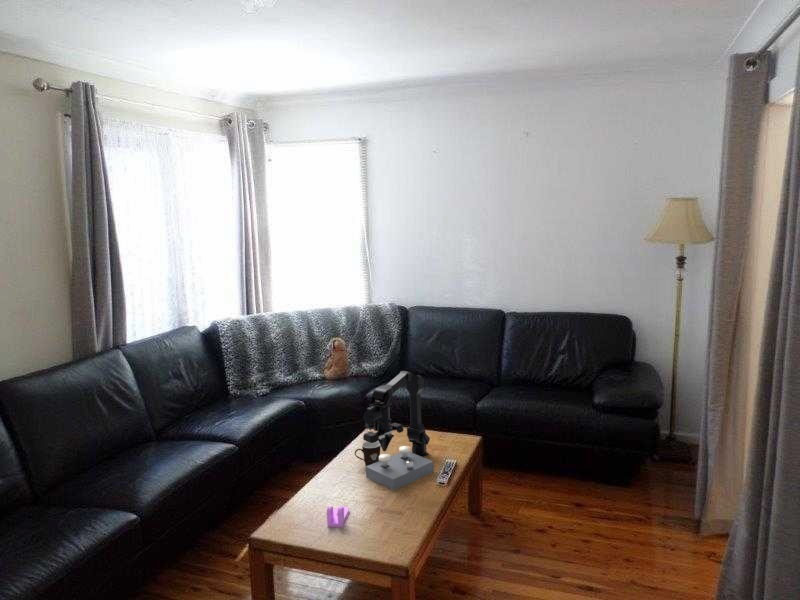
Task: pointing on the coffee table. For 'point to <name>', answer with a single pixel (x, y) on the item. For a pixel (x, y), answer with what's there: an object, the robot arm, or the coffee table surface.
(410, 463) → the potentiometer
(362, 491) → the coffee table surface
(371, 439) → the robot arm
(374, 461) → the coffee mug
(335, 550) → the coffee table surface
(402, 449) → the knob
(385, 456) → the knob
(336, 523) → the bracket
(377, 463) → the console block
